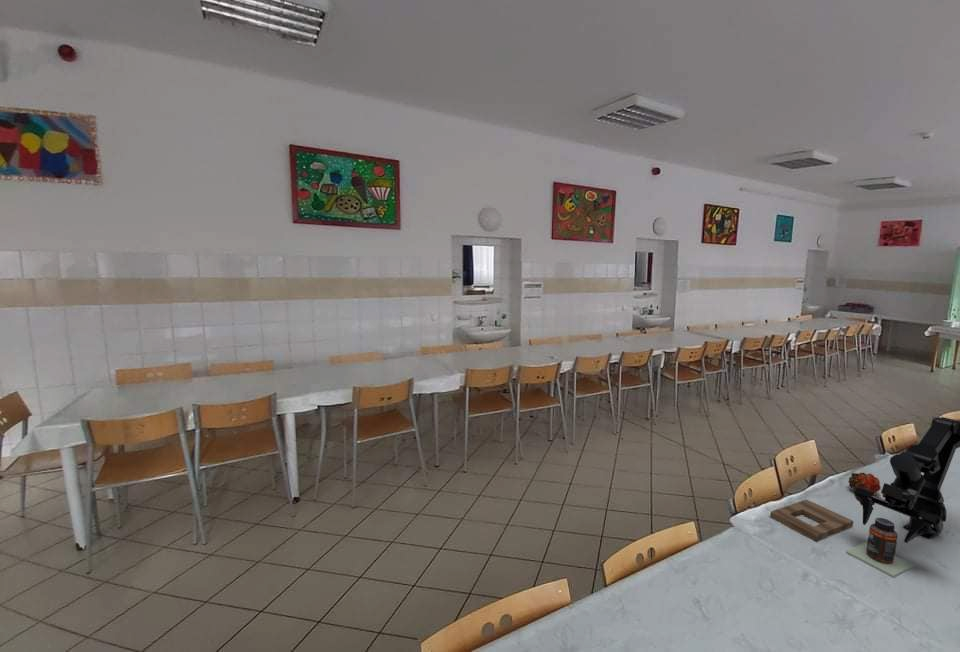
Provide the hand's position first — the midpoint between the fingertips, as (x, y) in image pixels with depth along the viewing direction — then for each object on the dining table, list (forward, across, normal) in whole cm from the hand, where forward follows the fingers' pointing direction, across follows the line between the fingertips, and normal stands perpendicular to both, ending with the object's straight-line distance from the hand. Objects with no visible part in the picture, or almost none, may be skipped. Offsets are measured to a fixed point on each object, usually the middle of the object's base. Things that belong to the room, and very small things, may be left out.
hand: (883, 532), depth 123 cm
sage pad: (+6, 0, +6) cm, 8 cm away
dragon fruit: (-24, -20, +37) cm, 48 cm away
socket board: (+4, -19, +8) cm, 21 cm away
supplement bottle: (+6, 0, +6) cm, 8 cm away
